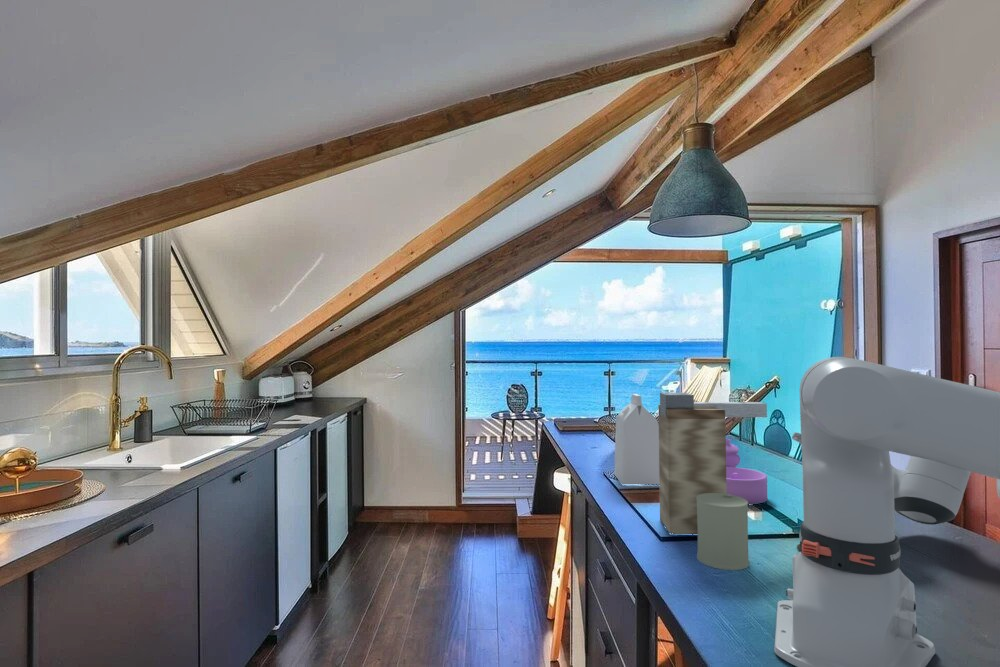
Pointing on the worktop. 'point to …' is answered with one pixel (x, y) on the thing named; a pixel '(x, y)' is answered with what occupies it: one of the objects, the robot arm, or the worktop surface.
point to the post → (689, 464)
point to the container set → (744, 478)
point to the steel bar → (711, 405)
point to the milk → (636, 445)
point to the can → (722, 531)
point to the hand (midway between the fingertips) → (804, 438)
